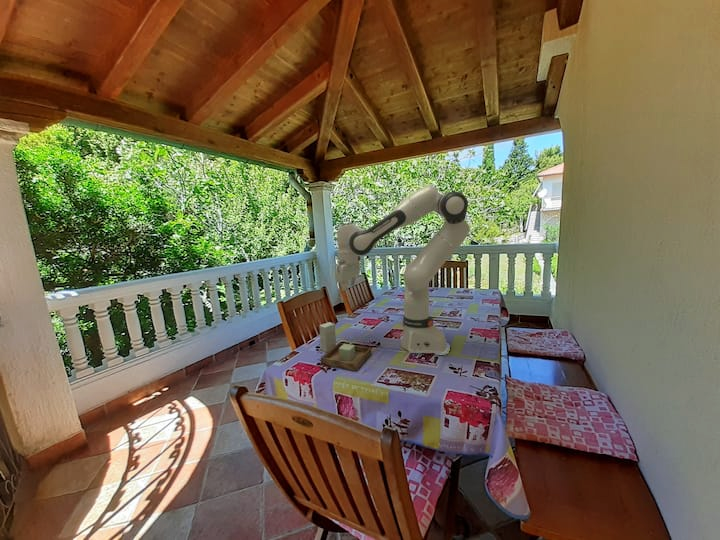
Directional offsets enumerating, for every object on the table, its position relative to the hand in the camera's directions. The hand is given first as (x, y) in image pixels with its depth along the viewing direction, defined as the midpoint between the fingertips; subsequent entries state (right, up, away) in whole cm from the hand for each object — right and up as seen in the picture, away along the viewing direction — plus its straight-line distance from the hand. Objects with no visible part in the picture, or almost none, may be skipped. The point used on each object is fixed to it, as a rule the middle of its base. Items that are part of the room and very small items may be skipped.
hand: (348, 288), depth 135 cm
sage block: (0, -29, -13) cm, 32 cm away
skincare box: (-9, -28, -3) cm, 30 cm away
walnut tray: (0, -29, -13) cm, 32 cm away
